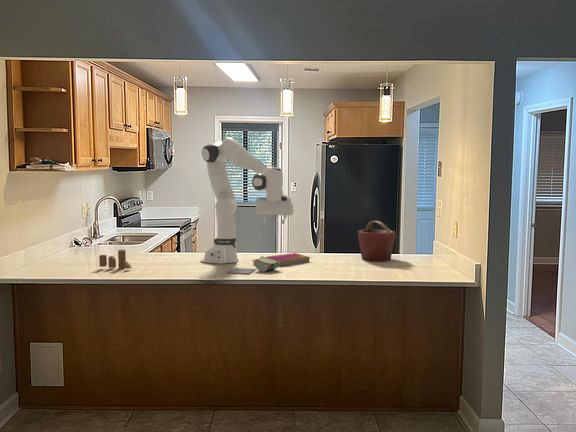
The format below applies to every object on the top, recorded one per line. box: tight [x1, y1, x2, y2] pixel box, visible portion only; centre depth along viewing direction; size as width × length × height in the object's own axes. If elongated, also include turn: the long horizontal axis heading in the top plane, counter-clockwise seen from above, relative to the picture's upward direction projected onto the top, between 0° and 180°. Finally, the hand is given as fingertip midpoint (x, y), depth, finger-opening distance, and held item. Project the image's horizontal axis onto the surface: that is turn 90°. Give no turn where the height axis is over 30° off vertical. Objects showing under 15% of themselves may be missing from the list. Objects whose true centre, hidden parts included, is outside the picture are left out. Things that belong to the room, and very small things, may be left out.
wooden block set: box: [98, 249, 132, 270], centre depth 304 cm, size 18×9×10 cm, turn 84°
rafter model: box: [251, 252, 311, 268], centre depth 326 cm, size 35×14×6 cm, turn 132°
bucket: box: [357, 220, 396, 263], centre depth 339 cm, size 24×22×25 cm
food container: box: [253, 255, 280, 273], centre depth 304 cm, size 12×6×10 cm
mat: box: [227, 267, 257, 276], centre depth 300 cm, size 12×14×1 cm
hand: (274, 223), depth 294 cm, fingers open, 8 cm apart
